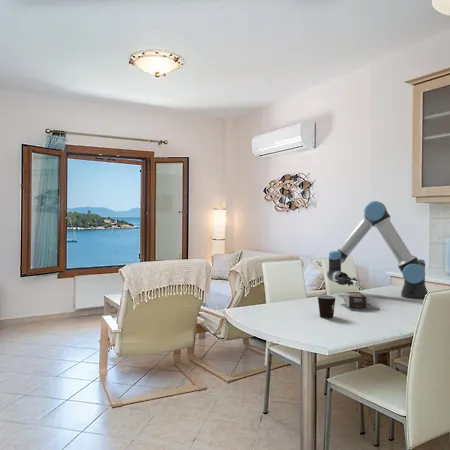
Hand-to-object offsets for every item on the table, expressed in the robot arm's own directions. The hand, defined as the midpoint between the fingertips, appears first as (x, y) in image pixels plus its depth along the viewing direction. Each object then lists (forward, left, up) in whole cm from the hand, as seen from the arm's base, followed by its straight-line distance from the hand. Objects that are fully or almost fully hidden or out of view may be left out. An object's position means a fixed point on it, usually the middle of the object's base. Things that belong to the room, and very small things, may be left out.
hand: (356, 284), depth 234 cm
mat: (0, +4, -12) cm, 13 cm away
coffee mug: (+24, +22, -12) cm, 35 cm away
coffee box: (0, -6, -8) cm, 10 cm away
